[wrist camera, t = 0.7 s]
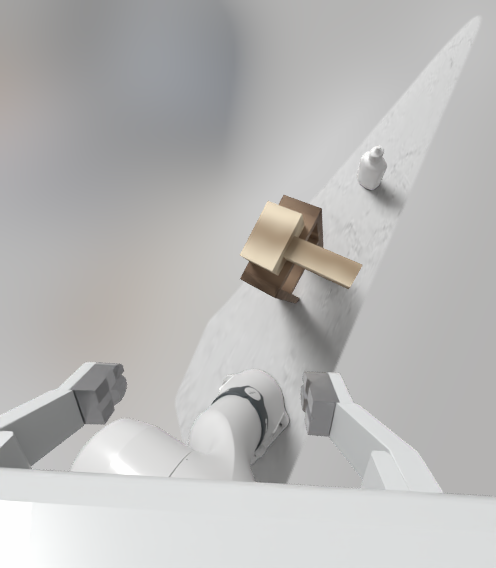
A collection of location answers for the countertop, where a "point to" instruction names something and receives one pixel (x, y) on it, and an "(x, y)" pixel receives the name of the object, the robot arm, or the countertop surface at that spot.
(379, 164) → the eye dropper bottle
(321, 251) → the wooden mallet
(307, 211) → the walnut shelf
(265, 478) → the countertop surface
